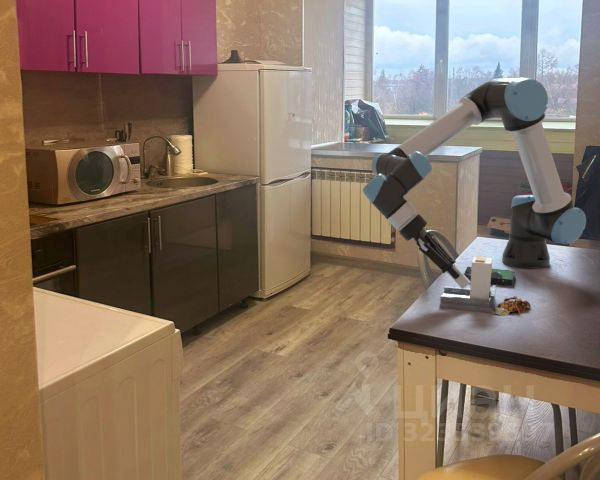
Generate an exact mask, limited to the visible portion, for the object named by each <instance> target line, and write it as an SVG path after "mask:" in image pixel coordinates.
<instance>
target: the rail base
mask: <svg viewBox="0 0 600 480" xmlns="http://www.w3.org/2000/svg"><path fill="white" fill-rule="evenodd" d="M491 285H492V284H491ZM496 291H497V285H492V286H491V289H490V297H489V300H485V299H475V298H470V287H469V288H468V287H467V288H466V287H464V288H463V289H462V288H461V287H458V286H457V287H456V286H446V285H445V286H444V287H443V293H442V295H440V301H439V308H441V309H442V308H443V309H451V310H452V309H454V310H462V311H472V312H473V311H474V312H482V313H491V314H492V312H493V309H494V307H495V302H496Z"/></svg>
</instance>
